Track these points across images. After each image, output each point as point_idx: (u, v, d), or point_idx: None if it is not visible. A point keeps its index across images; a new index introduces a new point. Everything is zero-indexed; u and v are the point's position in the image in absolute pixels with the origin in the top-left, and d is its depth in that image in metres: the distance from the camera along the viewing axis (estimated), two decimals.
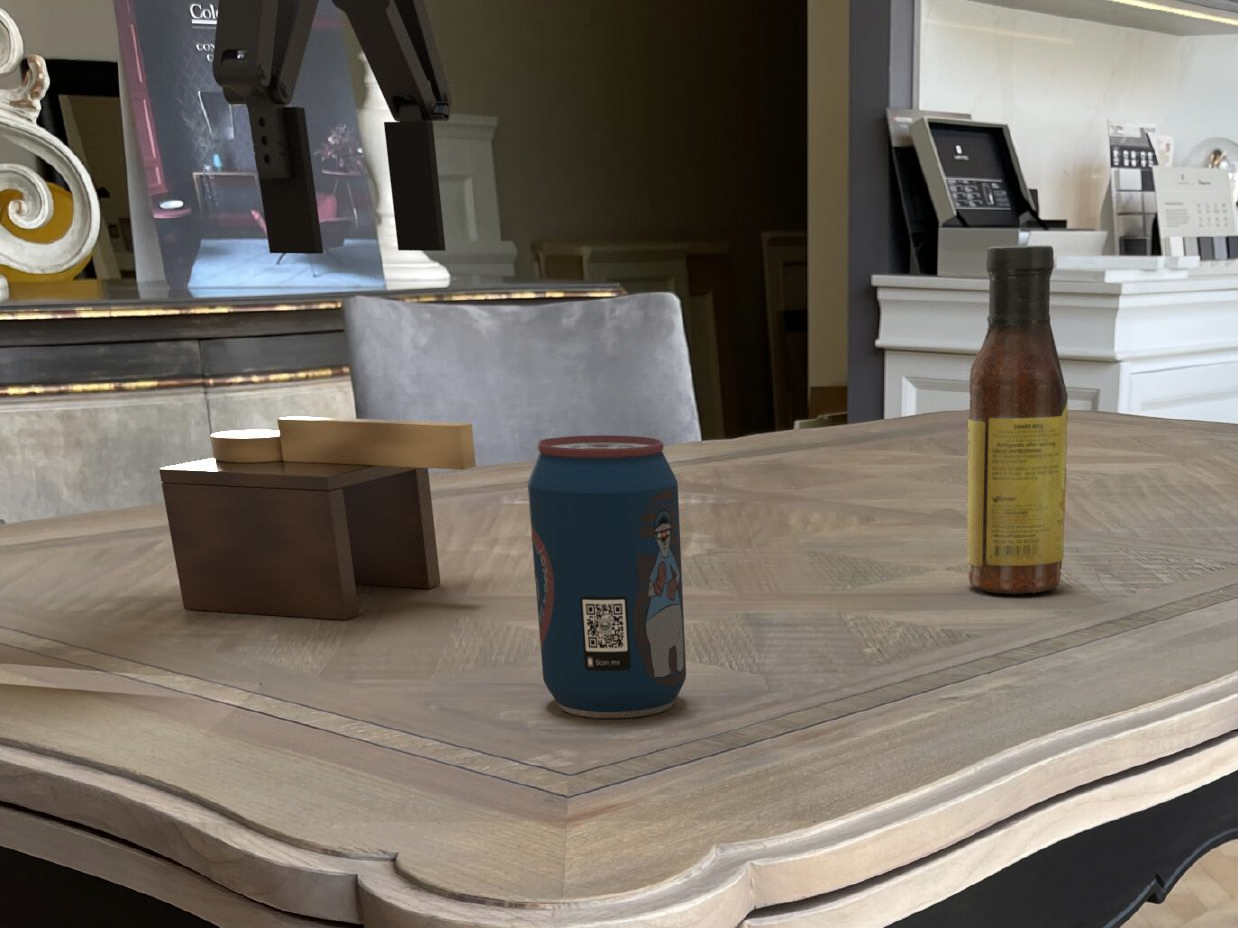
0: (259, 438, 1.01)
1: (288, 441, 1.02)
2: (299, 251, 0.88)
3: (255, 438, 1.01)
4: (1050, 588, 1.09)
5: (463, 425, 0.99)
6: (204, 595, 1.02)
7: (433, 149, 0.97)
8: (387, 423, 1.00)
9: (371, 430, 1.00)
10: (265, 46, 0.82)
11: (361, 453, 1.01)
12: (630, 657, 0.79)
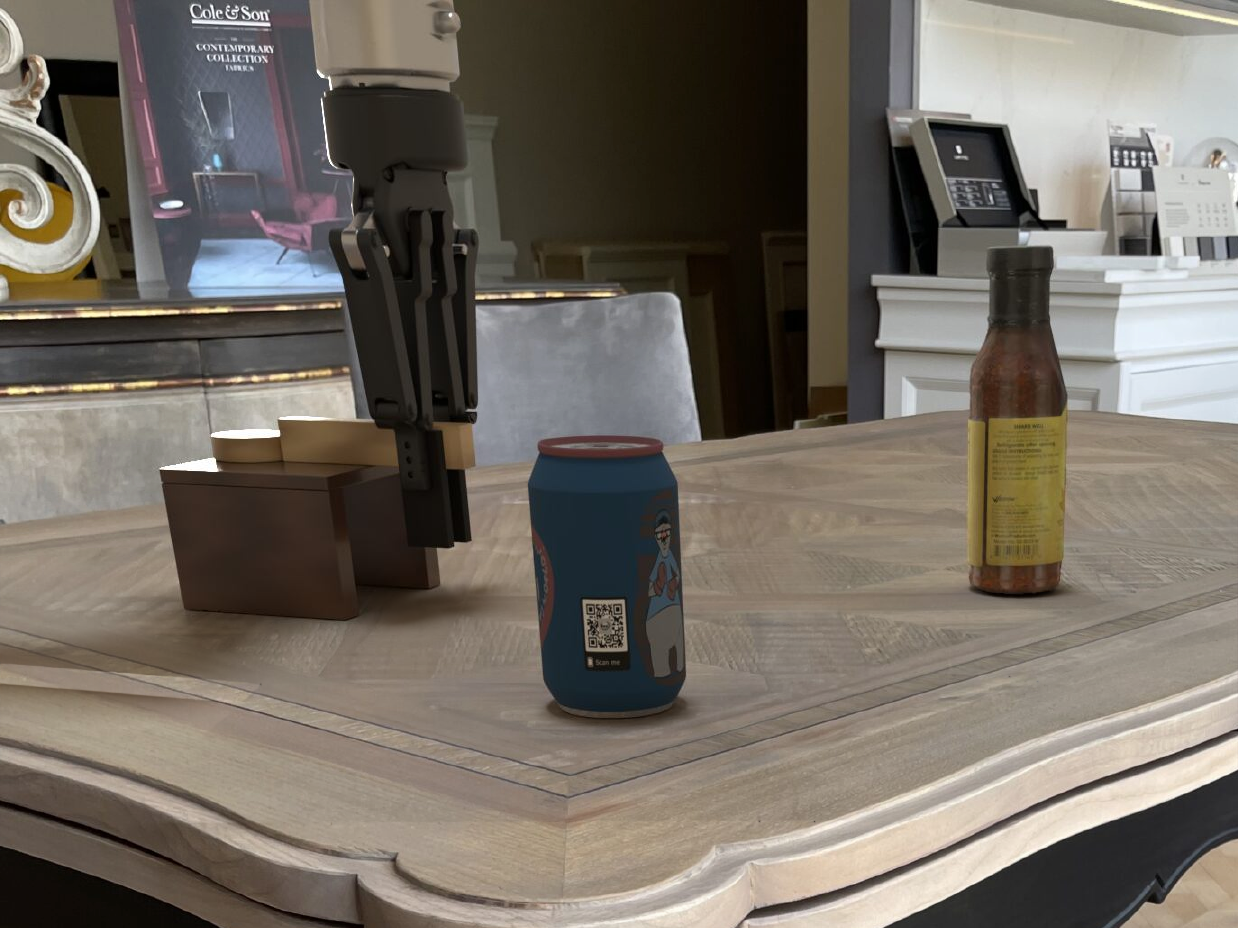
0: (259, 438, 1.01)
1: (288, 441, 1.02)
2: (434, 546, 1.02)
3: (255, 438, 1.01)
4: (1050, 588, 1.09)
5: (463, 425, 0.99)
6: (204, 595, 1.02)
7: None
8: None
9: (371, 430, 1.00)
10: (407, 387, 0.95)
11: (361, 453, 1.01)
12: (630, 658, 0.79)
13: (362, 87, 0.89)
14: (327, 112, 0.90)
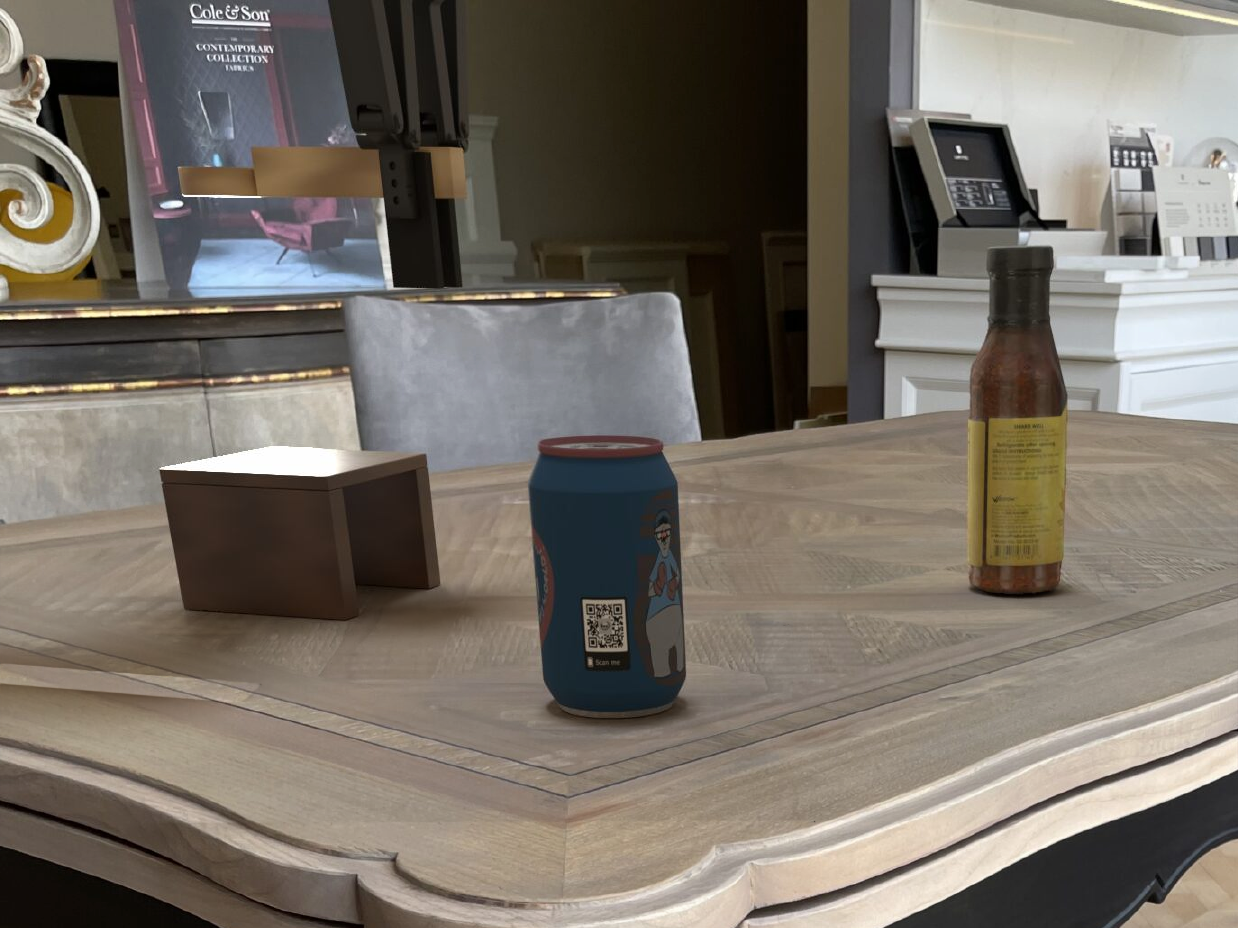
0: (231, 168, 0.93)
1: (262, 172, 0.93)
2: (422, 286, 0.93)
3: (226, 167, 0.93)
4: (1050, 588, 1.09)
5: (453, 148, 0.91)
6: (204, 595, 1.02)
7: None
8: None
9: (353, 156, 0.92)
10: (392, 93, 0.87)
11: (342, 183, 0.93)
12: (630, 658, 0.79)
13: None
14: None
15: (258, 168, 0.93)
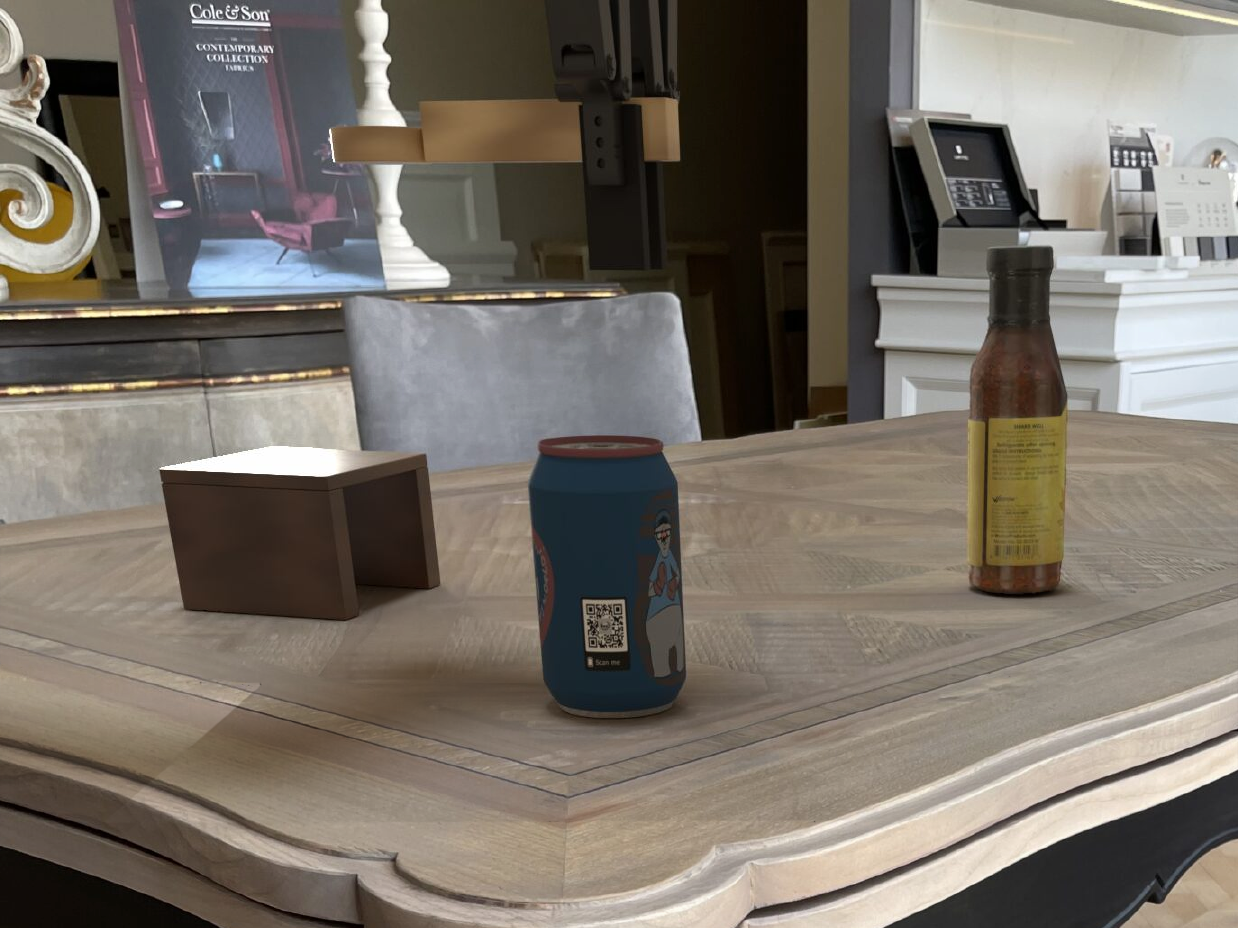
0: (395, 127, 0.77)
1: (433, 132, 0.78)
2: (625, 268, 0.78)
3: (390, 127, 0.77)
4: (1050, 588, 1.09)
5: (669, 99, 0.75)
6: (204, 595, 1.02)
7: None
8: None
9: (545, 110, 0.76)
10: (606, 30, 0.71)
11: (530, 144, 0.77)
12: (630, 658, 0.79)
13: None
14: None
15: (427, 127, 0.78)
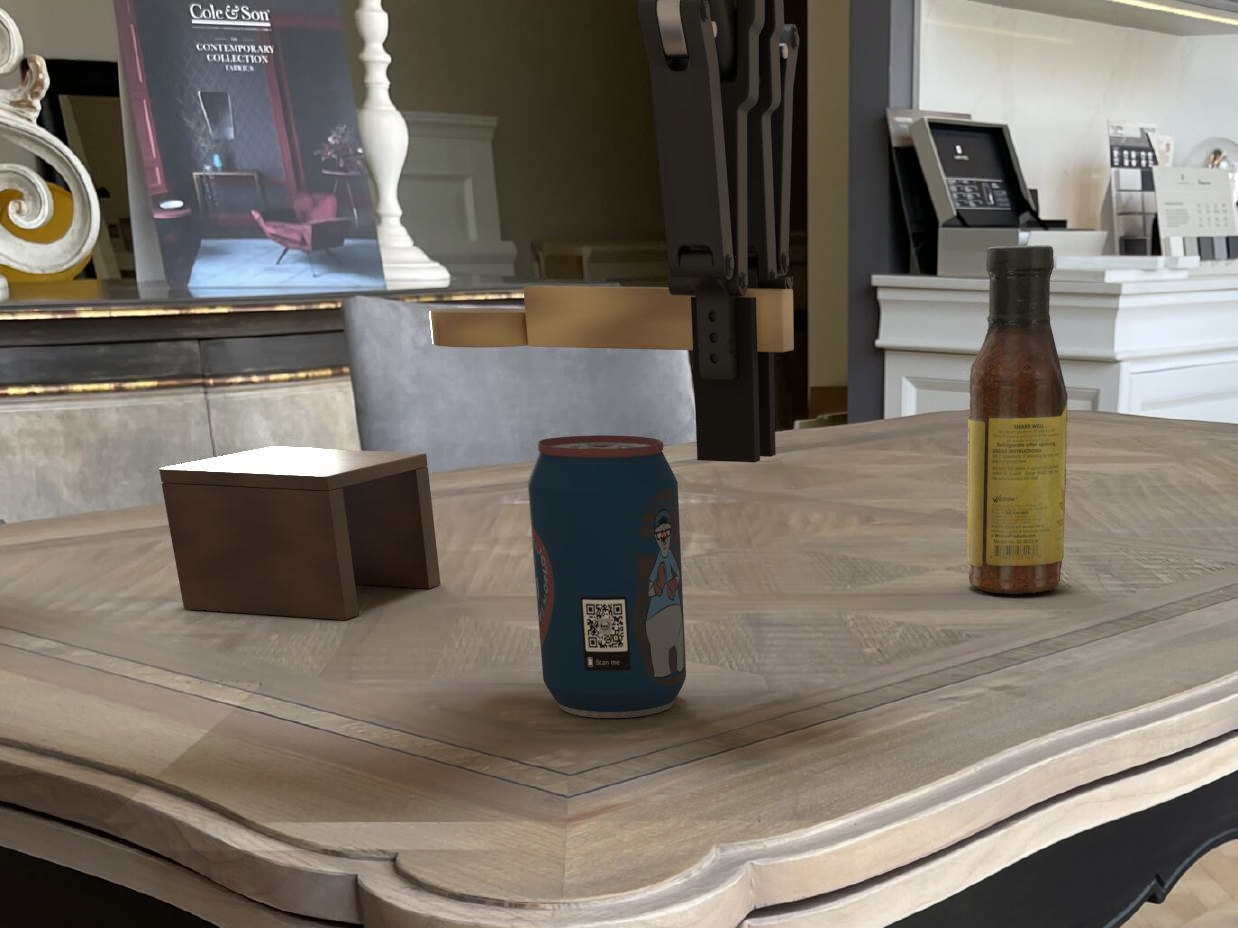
0: (499, 313, 0.75)
1: (537, 318, 0.75)
2: (734, 459, 0.75)
3: (494, 313, 0.75)
4: (1050, 588, 1.09)
5: (785, 290, 0.72)
6: (204, 595, 1.02)
7: None
8: None
9: (655, 299, 0.73)
10: (725, 230, 0.68)
11: (639, 332, 0.74)
12: (630, 657, 0.79)
13: None
14: None
15: (531, 312, 0.75)
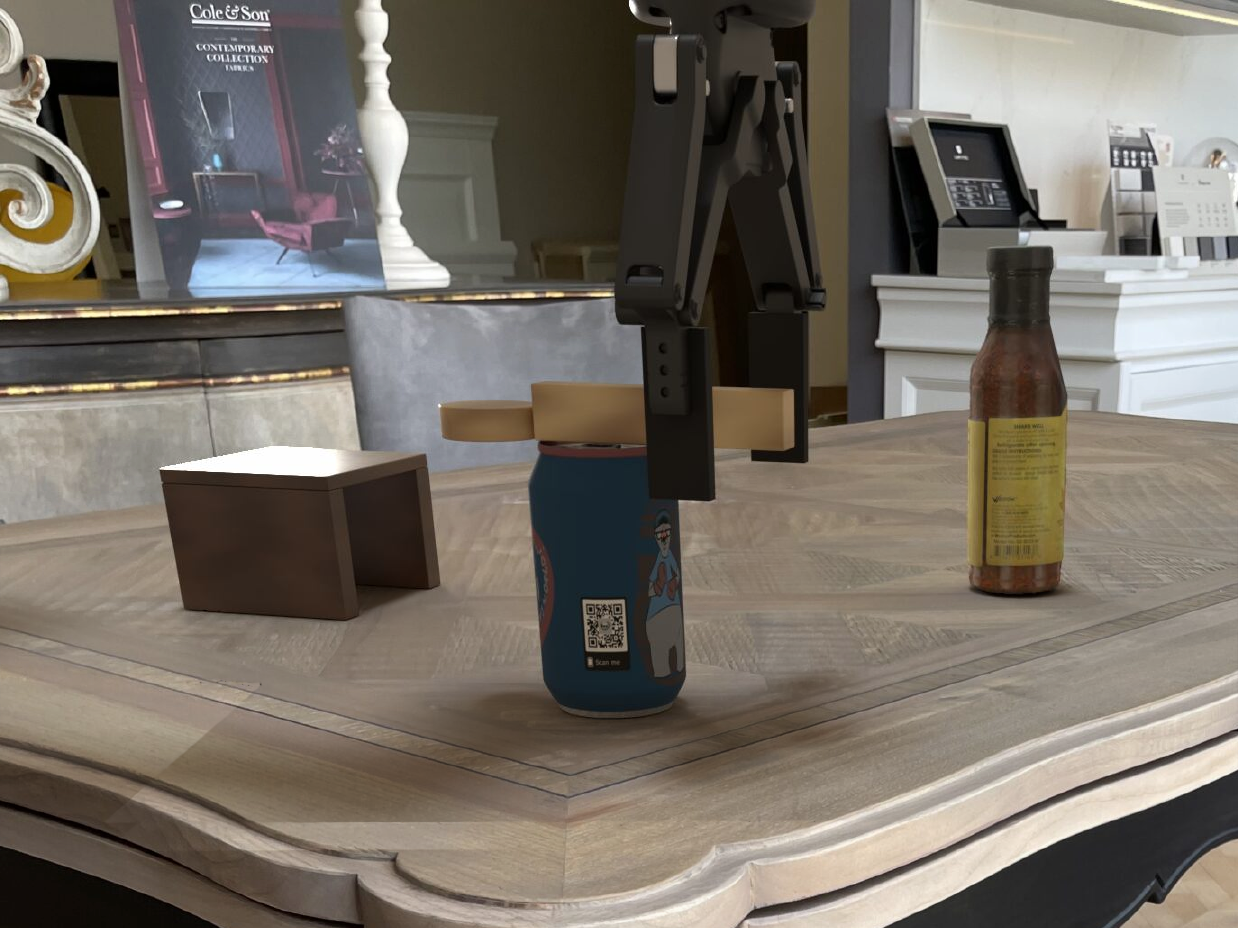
0: (507, 409, 0.77)
1: (543, 413, 0.77)
2: (688, 498, 0.71)
3: (501, 409, 0.76)
4: (1050, 588, 1.09)
5: (786, 391, 0.74)
6: (204, 595, 1.02)
7: (806, 345, 0.80)
8: None
9: None
10: (682, 260, 0.65)
11: (643, 429, 0.76)
12: (630, 658, 0.79)
13: None
14: None
15: (538, 408, 0.77)
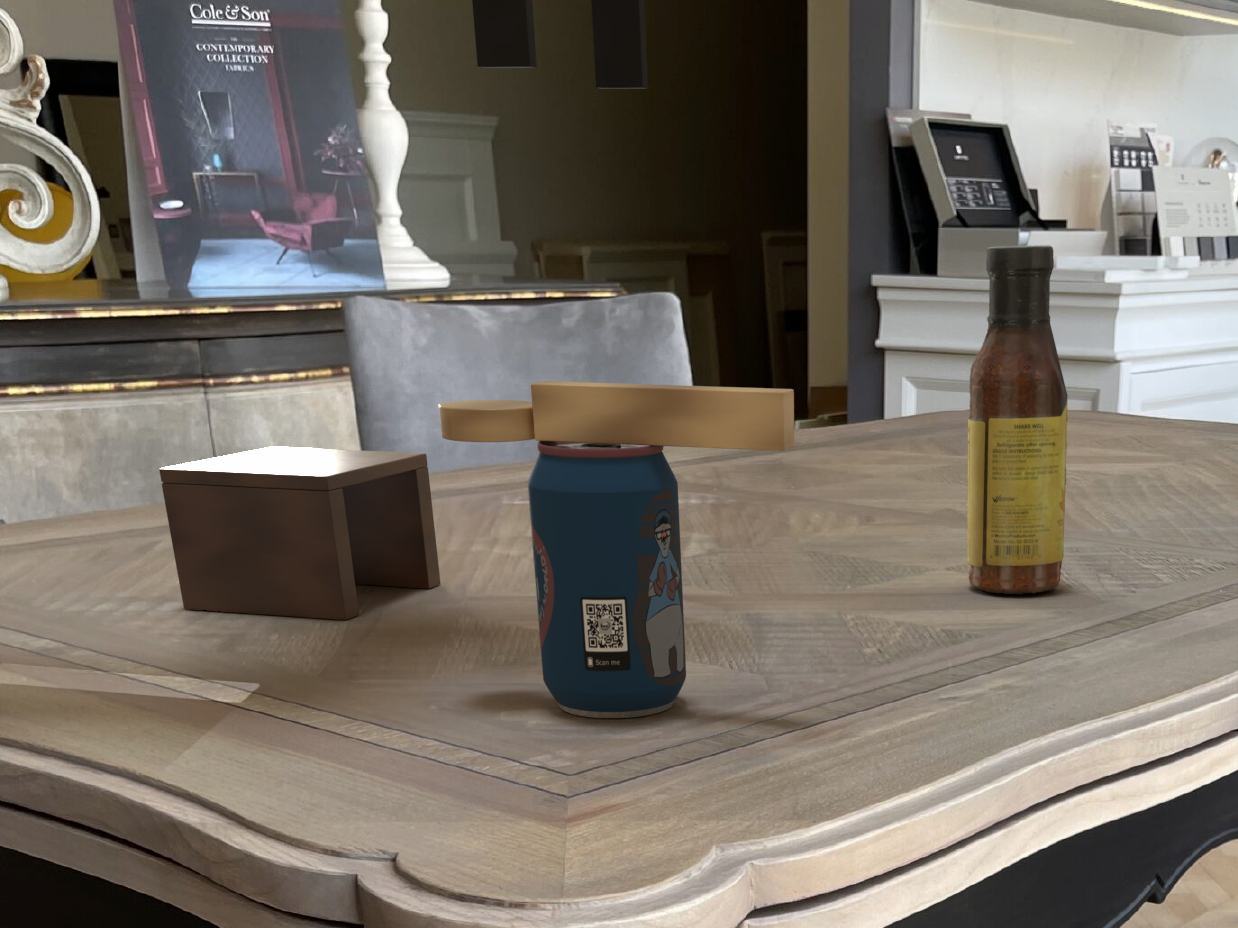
0: (506, 409, 0.77)
1: (543, 413, 0.77)
2: (511, 64, 0.79)
3: (501, 409, 0.76)
4: (1050, 588, 1.09)
5: (786, 391, 0.74)
6: (204, 595, 1.02)
7: None
8: (682, 389, 0.75)
9: (659, 398, 0.75)
10: None
11: (643, 429, 0.76)
12: (630, 658, 0.79)
13: None
14: None
15: (538, 408, 0.77)
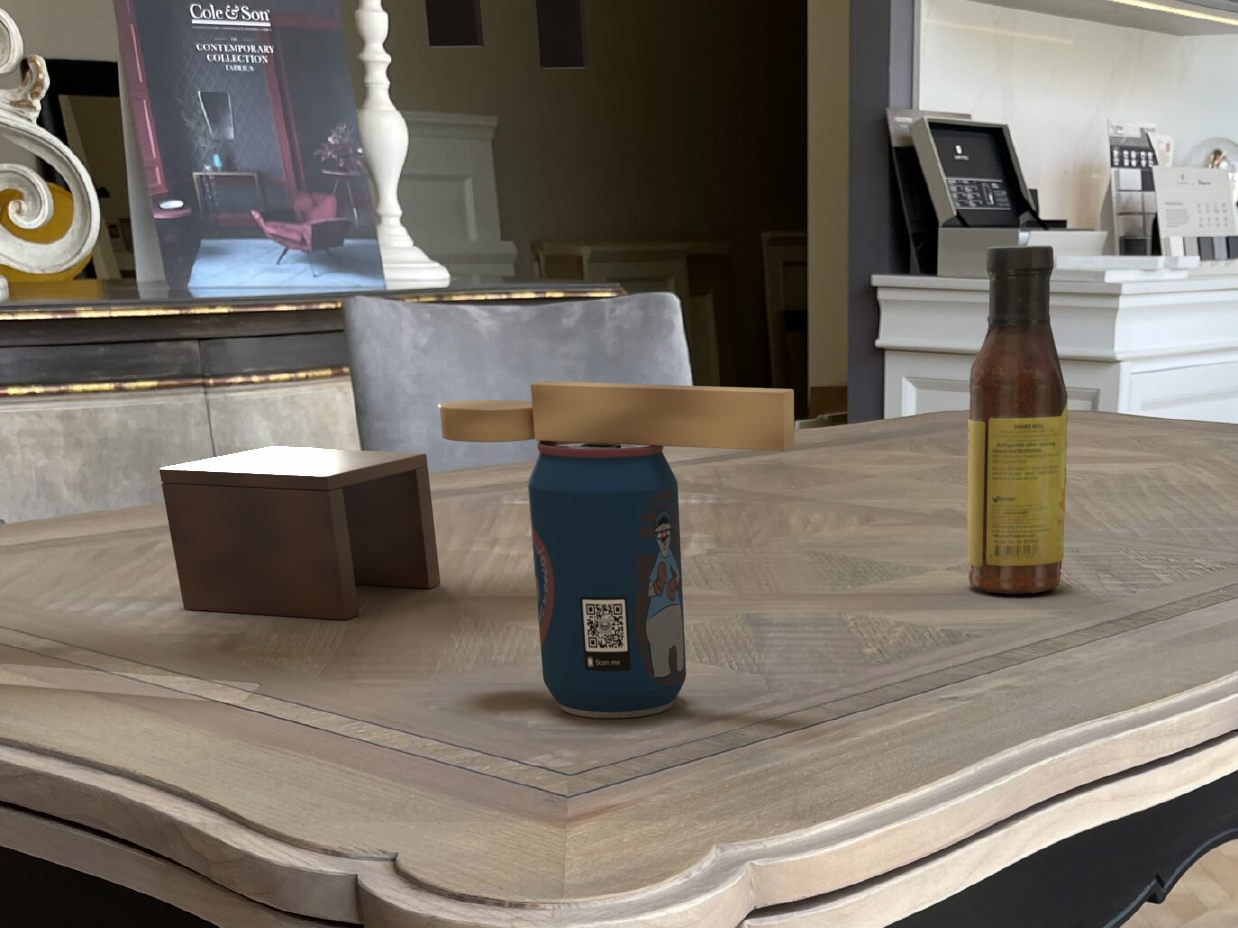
0: (506, 409, 0.77)
1: (543, 413, 0.77)
2: (460, 43, 0.87)
3: (501, 409, 0.76)
4: (1050, 588, 1.09)
5: (786, 391, 0.74)
6: (204, 595, 1.02)
7: None
8: (682, 389, 0.75)
9: (659, 398, 0.75)
10: None
11: (643, 429, 0.76)
12: (630, 658, 0.79)
13: None
14: None
15: (538, 408, 0.77)
